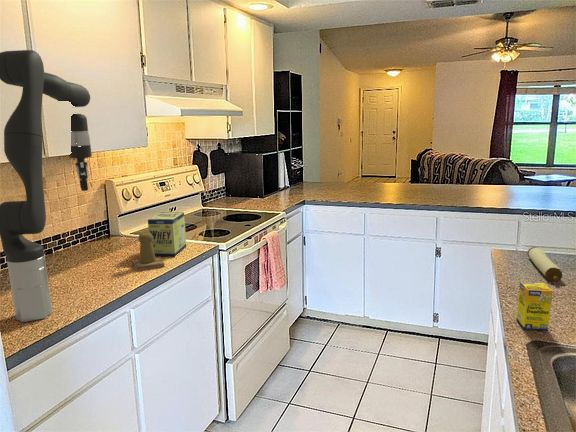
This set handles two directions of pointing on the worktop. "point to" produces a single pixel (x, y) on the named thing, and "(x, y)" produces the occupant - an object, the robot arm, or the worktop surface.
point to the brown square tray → (141, 267)
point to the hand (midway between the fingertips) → (84, 189)
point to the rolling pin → (545, 264)
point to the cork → (146, 248)
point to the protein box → (168, 233)
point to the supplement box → (534, 306)
